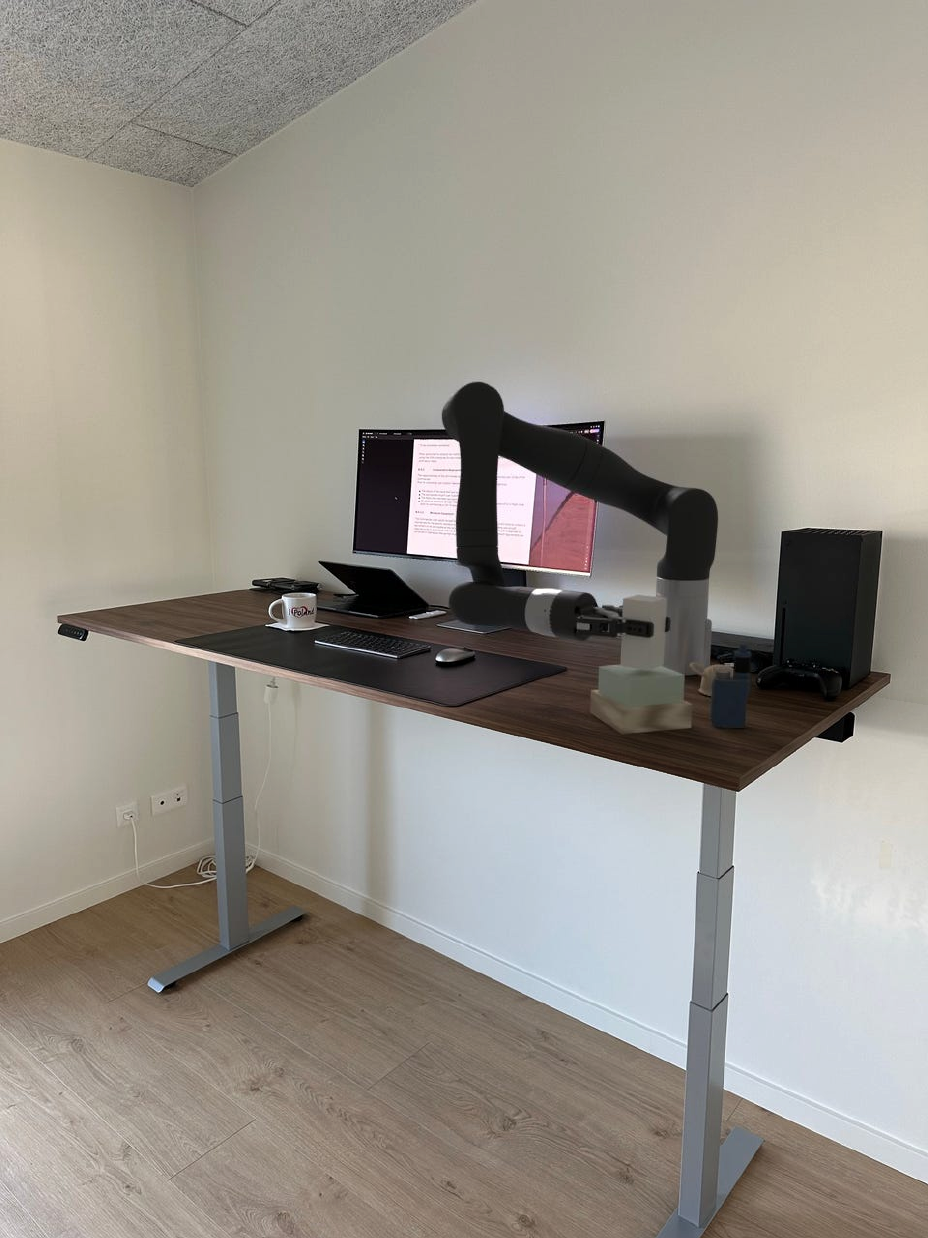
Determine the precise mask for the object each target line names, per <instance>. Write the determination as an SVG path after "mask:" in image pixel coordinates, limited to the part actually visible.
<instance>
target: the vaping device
mask: <svg viewBox="0 0 928 1238" xmlns="http://www.w3.org/2000/svg"><path fill="white" fill-rule="evenodd" d="M751 665H752V652H751V651H749V650H748V646H747V645H745V644H741V645H739V648H738V650H735V651H734V652H733V666H732V668H733V676H730V671H728V670H716V676H715V677H714V680H713V682H712V696H711V697H710V699H711V700H710V716H709V717H710V718H709V720H710V723H711V726H713V727H714V728H717V727H718V729H732V728H745V729H746V727H745V726H746V720H747V719H746V717H747V700H748V695H749V694H750V692H751V691H750V690H751V668H752V667H751ZM720 727H721V728H720Z"/></svg>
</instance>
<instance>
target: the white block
mask: <svg viewBox="0 0 928 1238" xmlns="http://www.w3.org/2000/svg"><path fill="white" fill-rule="evenodd" d="M622 605H623V613H622V617H625V618H628V620H630V619H632V620H640V621H647V622H652V623H653V624H654V635H653V636H652V637H650V638H646V637H639V636H632V635H628V633H627V636H621V638H620V639H621V642H620V643H621V645H620V646H621V647H620V664H619V665H620V666H624V667H629V668H635V669H641V670H647V671H650V670H652V669H655V668H657V667H660V666H663V665H664V647H665V623H666V606H667V598H662V597H656V596H651V595H644V594H643V595H642V594H636V595H632V596H628V597H624V598H622Z"/></svg>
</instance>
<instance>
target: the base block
mask: <svg viewBox="0 0 928 1238" xmlns="http://www.w3.org/2000/svg"><path fill="white" fill-rule="evenodd" d="M589 711H590V714H592V715H593V716H595V717H596V718H598V719H599V720H600V721H602V722H603V723H605V724H606V725H608V726H609V727H610V728H611V729H613V730H615V731H616V732H617V733H618V734H619V733H620V734H621V735H628V734H638V733H649V732H660V731H671V730H683V729H691V728H692V720H693V704H692V703H690V702H688V701H687V700H685V699H684V700H683V702H677V703H669V704H660V705H651V706H643V707H634V708H628V707H626V706H624V705H623V704H621V703H619V702H617V701H615V700H613V699H611V698H609V697H607V696H605V695H603V694H601V693H599V692H598V689H591V690H590V708H589Z"/></svg>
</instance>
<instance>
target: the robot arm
mask: <svg viewBox="0 0 928 1238" xmlns="http://www.w3.org/2000/svg"><path fill="white" fill-rule="evenodd" d="M441 421H442V426H443V428H444V429H445V432H446V433H447V434H448V436H450V438H451V439H453V440H454V441H456V442H458V445H459V454H460V478H459V479H460V480H459V488H458V495H457V496H458V497H457V501H456V503H457V504H456V510H455V511H456V514H455V541H456V542H455V543H456V544H455V545H456V558H457V563H458V564H459V565H461V566H463V567H465V568H467V569H469V572H470V574H471V578H472V581H467V582H466V581H464V582H463V583H460V584H458V585H456V587H454V588H453V590H451V592H450V595H449V597H448V608H449V611H450V613H451V614H452V616H453V617H454V618H455V619H456V620H457V621H459V622H460V623H463V624H465V625H471V626H482V627H503V628H510V629H514V630H519V631H525V632H529V633H531V632H532V633H536V634H539V635H541V636H542V635H543V636H547V637H553V638H559V639H565V640H570V641H571V640H572V641H577V642H584V641H586V640H588V639H590V637H591V636H592V637H593V636H594V637H595V636H596V637H607V638H613V639H614V638H617V637H618V636H621V637H622V636H627V633H628V635H632V636H639V637H646V638H650V637H652V636H653V635H654V624H653V623H652V622H647V621H640V620H632V619H630V620H628V618H625V617H622V613H623V604H622V605H618V606H614V605H613V604H602V605H601V606H599V605H598V602H597V599H596V598H595V597H594V595H593V594H592V593H590V592H587V591H586V592H584V591H575V590H570V589H569V590H567V589H560V588H552V587H551V588H537V587H527V586H507V583H506V577H505V573H504V570H503V566H502V564H501V560H500V557H499V533H498V531H499V529H498V528H499V527H498V494H497V493H498V466H499V465H498V464H499V457H501V458H504V459H506V460H508V461H511V462H512V463H514V464H517V465H518V466H520V467H522V468H524V469H526V470H527V471H529V472H532V473H534V474H535V475H537V476H540V477H542V478H544V479H545V480H547V481H550V482H552V483H554V484H555V485H557V486H559V487H561V488H565V489H566V490H569V491H571V492H573V493H575V494H577V495H579V496H581V497H585V498H587V499H589V500H592V501H595V502H598V503H600V504H603V505H605V506H610V507H613V508H616V509H619V510H622V511H624V512H627V513H628V514H630V515H631V516H633V517H636V518H637V519H639V520H641V521H643V522H645V523H646V524H647V525H649V526H650V527H652V528H654V529H656V530H657V531H659V532H660V533H661V534H664V536H666V546H665V552H664V555H663V557H662V558H661V559H660V560H659V561H658V562H657V565H656V584H655V585H656V586H655V587H656V588H655V592H656V593H655V597H662V598H667V606H666V623H665V647H664V665H663V667H665V668H668V669H671V670H673V671H676V672H678V673H681V674H683V675H685V676H695V675H698V674H697V673H695V672H694V671H693V670H692V669H691V667H690V664H691V663H698V664H700V665H702V666H703V667H705V668H707V667H709V666H711V650H712V649H711V645H712V631H713V630H712V625H713V624H712V623H713V621H712V620H711V619H709V618H708V615H709V614H708V613H709V609H708V608H709V591H710V590H709V588H710V575H711V574H710V571H711V568H712V566H713V564H714V561H715V558H716V549H717V539H718V527H719V511H718V506H717V502H716V500H715V498H714V497H713V496H712V495H711V493H709V492H708V491H706V490H705V489H701V488H696V487H685V486H678V485H674V484H673V485H672V484H670V483H667V482H664V481H661V480H658V479H656V478H654V477H651V476H649V475H646V474H644V473H642V472H640V471H638V470H637V469H636V468H634V467H633V465H631V464H629V463H628V462H627V461H626V460H625V459H623V458H622V457H621V456H619V454H616V453H615V452H614V451H613V450H611V449H609V448H607V447H605V446H604V445H601V444H599V443H598V442H595V441H593V440H591V439H589V438H587V437H584V436H583V435H580V434H577V433H574V432H571V431H568V430H566V429H565V430H564V429H560V428H556V427H549V426H545V425H541V424H536V423H533V422H529V421H525V420H522V419H520V418H518V417H516V416H514V415H512V414H510V413H509V412H507V411H505V406H504V401H503V398H502V397H501V394H500V393H499V391H498V390H497V389H496V388H495V387H493V385H490V384H489V383H488V382H484V381H479V380H477V381H472V382H468V383H465V384H464V385H462V386H460V387H459V388H458V389H457V390H456V391H454V393H453V394H452V395H451V396H450V397H449V398H448V399H447V400H446V401H445V403H444V405H443V407H442V410H441ZM694 668H695V669H696V670H698V671H700V672H702V673H703V672H704V671H703V670H701V669H700V668H699V667H696V666H694Z"/></svg>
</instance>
